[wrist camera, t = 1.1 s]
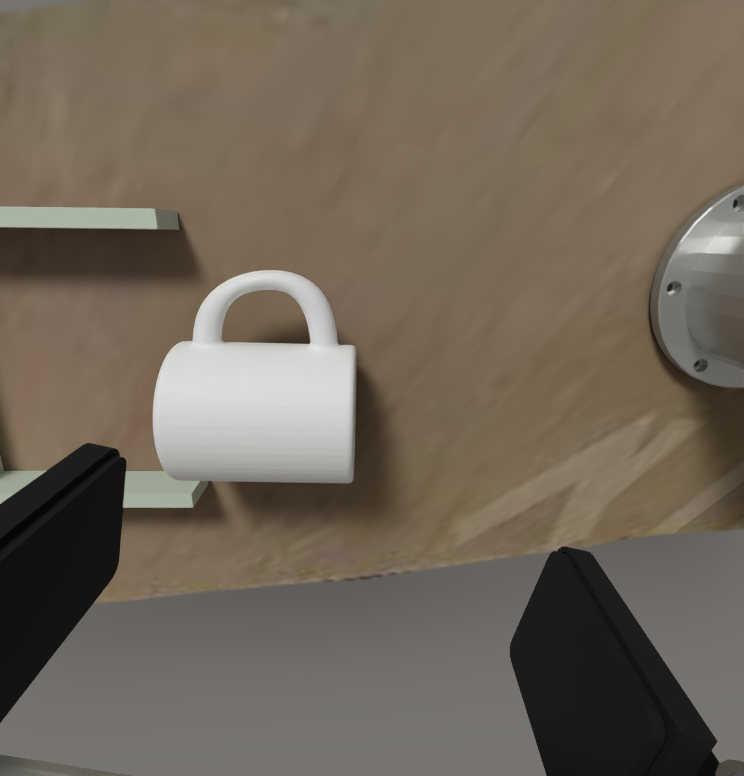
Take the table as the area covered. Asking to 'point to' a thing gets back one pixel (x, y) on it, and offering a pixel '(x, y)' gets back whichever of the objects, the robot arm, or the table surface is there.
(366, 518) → the table surface
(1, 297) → the table surface
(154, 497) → the green u-shaped bracket
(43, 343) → the table surface
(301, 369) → the mug
